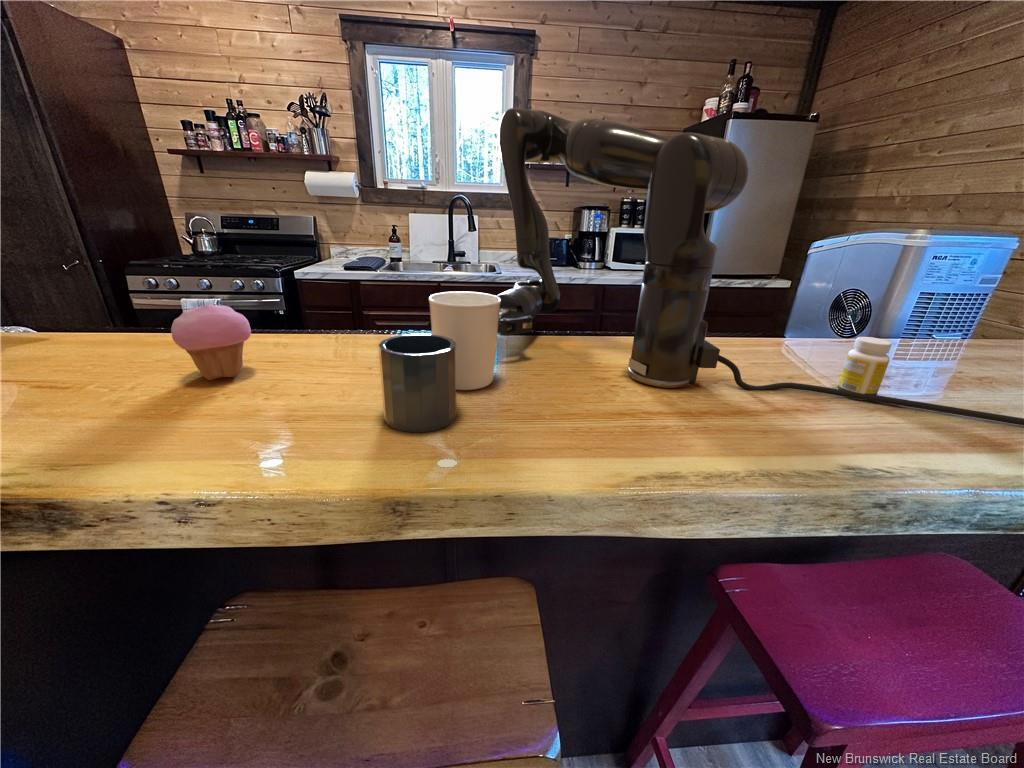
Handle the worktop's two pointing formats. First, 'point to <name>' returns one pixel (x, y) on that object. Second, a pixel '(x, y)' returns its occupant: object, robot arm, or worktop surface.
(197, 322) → the cupcake
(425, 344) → the cup
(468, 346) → the cream tumbler
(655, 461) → the worktop surface
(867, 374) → the supplement bottle
